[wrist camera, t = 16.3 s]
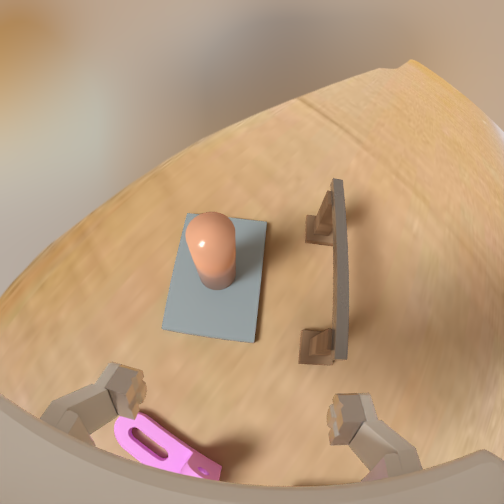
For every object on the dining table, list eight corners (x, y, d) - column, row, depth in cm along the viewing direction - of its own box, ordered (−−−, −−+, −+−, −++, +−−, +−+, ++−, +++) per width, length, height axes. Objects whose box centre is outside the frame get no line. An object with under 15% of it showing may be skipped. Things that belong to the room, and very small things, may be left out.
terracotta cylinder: (238, 257, 36) (238, 214, 26) (233, 292, 34) (231, 259, 24) (202, 253, 36) (191, 209, 26) (196, 287, 34) (180, 252, 25)
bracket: (221, 465, 25) (217, 486, 19) (196, 494, 23) (187, 518, 17) (133, 402, 28) (109, 406, 22) (111, 432, 26) (84, 440, 19)
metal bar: (339, 186, 32) (342, 179, 31) (342, 360, 24) (347, 359, 23) (330, 184, 32) (333, 178, 31) (330, 360, 24) (334, 359, 23)
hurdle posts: (332, 221, 39) (350, 188, 32) (330, 365, 31) (356, 360, 24) (305, 217, 39) (319, 182, 32) (298, 363, 31) (316, 359, 24)
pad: (266, 224, 39) (266, 221, 38) (253, 343, 32) (254, 342, 31) (188, 216, 39) (187, 213, 38) (163, 329, 32) (161, 328, 31)
